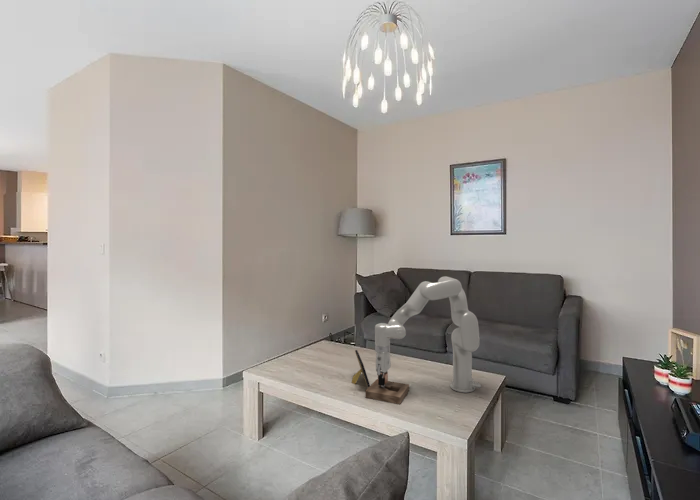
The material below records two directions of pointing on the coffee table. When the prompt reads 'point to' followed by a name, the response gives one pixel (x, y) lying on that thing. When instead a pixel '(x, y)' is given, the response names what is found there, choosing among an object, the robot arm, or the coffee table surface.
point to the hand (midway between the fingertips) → (383, 383)
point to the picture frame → (360, 371)
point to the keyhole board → (388, 392)
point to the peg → (385, 379)
